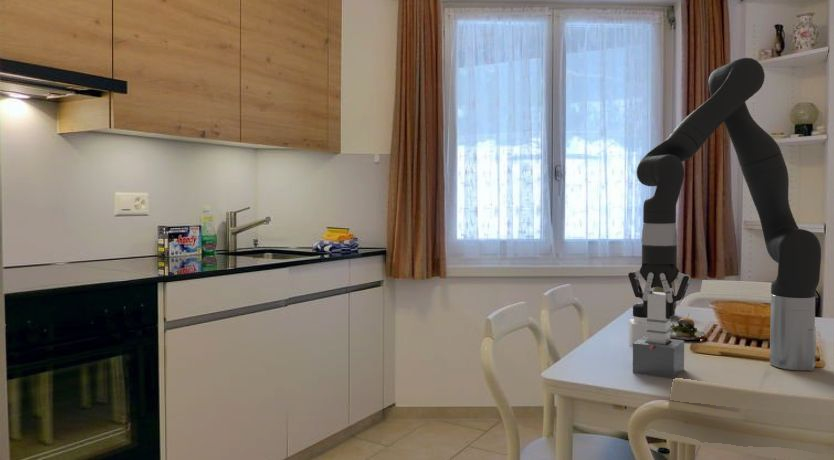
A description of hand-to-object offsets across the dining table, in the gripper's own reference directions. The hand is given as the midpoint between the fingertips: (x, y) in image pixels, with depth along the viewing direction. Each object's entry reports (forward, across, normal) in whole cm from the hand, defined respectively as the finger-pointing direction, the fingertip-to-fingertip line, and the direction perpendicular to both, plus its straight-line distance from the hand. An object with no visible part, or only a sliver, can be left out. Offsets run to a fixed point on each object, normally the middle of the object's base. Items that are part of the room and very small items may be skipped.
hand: (658, 317), depth 148 cm
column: (+13, 0, 0) cm, 13 cm away
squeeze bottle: (+14, +19, -75) cm, 79 cm away
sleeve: (+14, 0, 0) cm, 14 cm away
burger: (+14, +5, -44) cm, 47 cm away
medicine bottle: (+14, +11, -26) cm, 31 cm away
